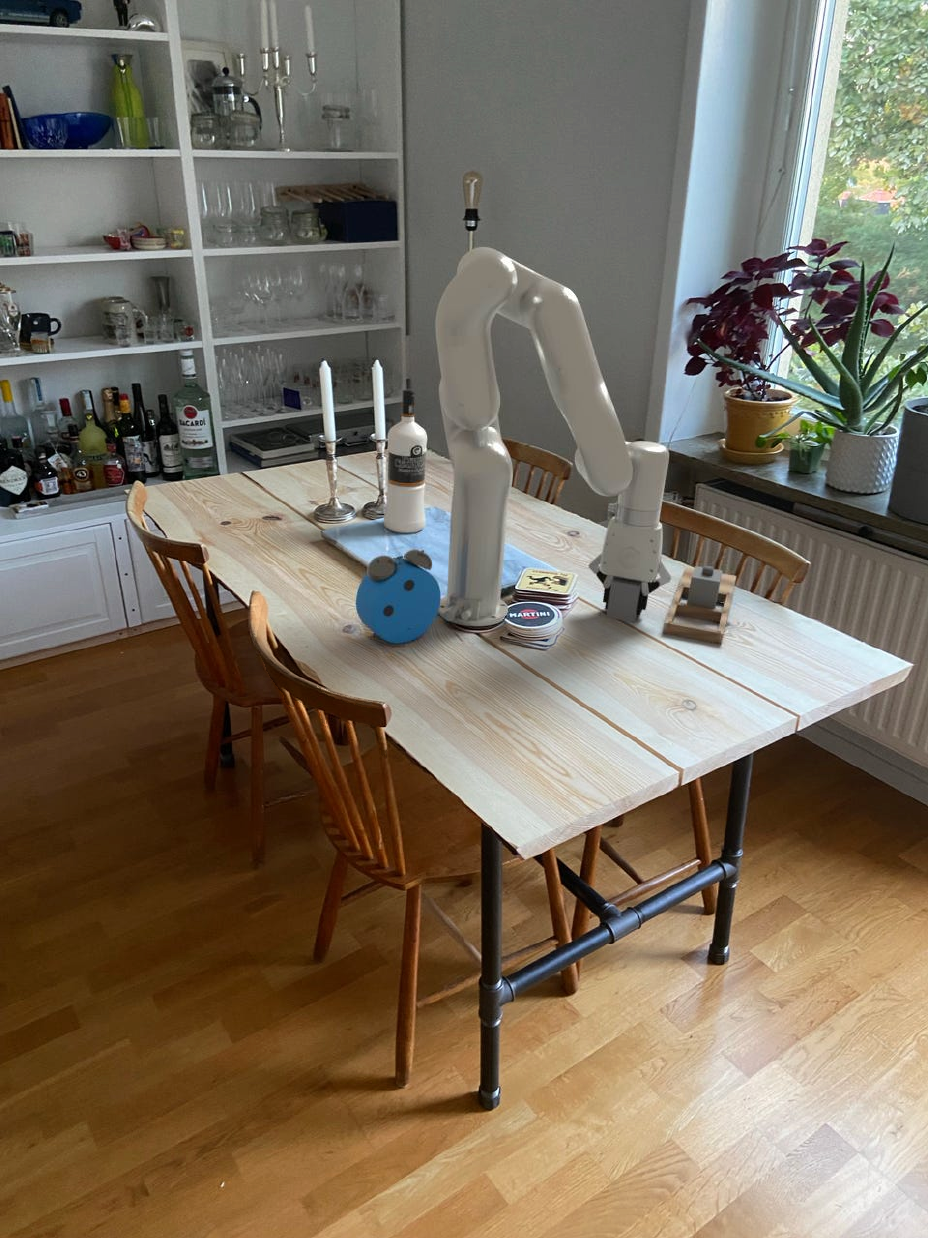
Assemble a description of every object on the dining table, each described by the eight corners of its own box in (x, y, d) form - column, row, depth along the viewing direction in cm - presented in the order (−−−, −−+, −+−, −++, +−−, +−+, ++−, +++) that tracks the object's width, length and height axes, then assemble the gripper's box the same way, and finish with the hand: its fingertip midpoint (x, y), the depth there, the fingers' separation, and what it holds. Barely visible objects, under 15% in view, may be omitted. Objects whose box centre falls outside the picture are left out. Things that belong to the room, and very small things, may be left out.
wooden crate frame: (721, 644, 156) (724, 629, 155) (663, 632, 159) (665, 618, 158) (734, 585, 180) (737, 572, 179) (683, 576, 183) (686, 563, 182)
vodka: (415, 518, 206) (420, 384, 193) (432, 531, 198) (438, 393, 185) (377, 522, 202) (379, 385, 189) (392, 536, 194) (396, 395, 181)
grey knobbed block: (712, 617, 166) (720, 575, 163) (685, 611, 168) (692, 570, 164) (716, 604, 171) (723, 564, 168) (689, 599, 173) (696, 559, 169)
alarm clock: (420, 622, 157) (424, 540, 151) (440, 636, 153) (444, 553, 146) (354, 638, 150) (354, 554, 144) (373, 653, 146) (374, 567, 139)
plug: (633, 622, 162) (640, 580, 159) (606, 617, 163) (612, 575, 160) (639, 609, 167) (646, 568, 164) (612, 604, 169) (618, 563, 165)
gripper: (584, 512, 156) (573, 608, 164) (684, 529, 152) (667, 626, 159) (594, 500, 163) (582, 593, 171) (690, 516, 158) (673, 610, 166)
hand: (623, 608), depth 165 cm, fingers closed on plug, 5 cm apart
